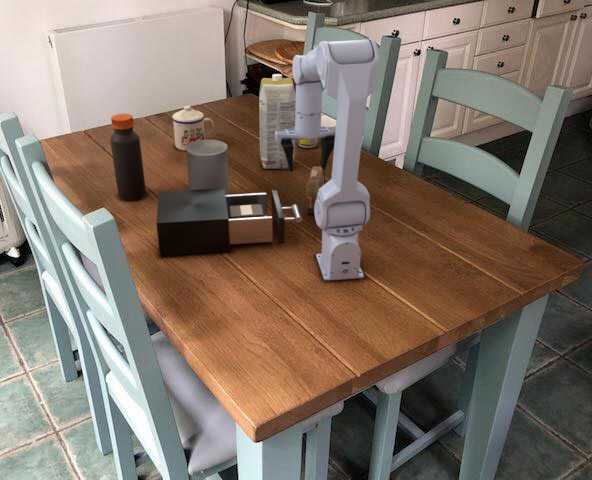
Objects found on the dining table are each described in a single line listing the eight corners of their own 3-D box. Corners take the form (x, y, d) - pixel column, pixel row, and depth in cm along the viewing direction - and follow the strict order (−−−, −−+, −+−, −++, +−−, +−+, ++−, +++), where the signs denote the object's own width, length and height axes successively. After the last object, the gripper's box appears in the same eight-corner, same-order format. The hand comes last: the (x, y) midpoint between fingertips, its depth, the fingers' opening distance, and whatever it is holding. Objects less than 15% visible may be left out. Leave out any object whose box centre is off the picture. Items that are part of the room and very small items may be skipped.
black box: (226, 219, 146) (224, 187, 141) (230, 252, 133) (228, 218, 129) (162, 223, 144) (158, 191, 140) (160, 257, 132) (156, 223, 128)
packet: (263, 231, 137) (263, 214, 135) (231, 232, 136) (230, 216, 134) (261, 220, 141) (261, 203, 139) (230, 221, 141) (229, 205, 138)
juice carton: (293, 158, 176) (294, 71, 163) (295, 170, 169) (296, 80, 156) (259, 158, 175) (258, 72, 162) (260, 170, 169) (259, 81, 156)
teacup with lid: (181, 153, 178) (177, 113, 172) (170, 143, 185) (166, 104, 179) (220, 146, 183) (218, 107, 177) (208, 136, 190) (206, 98, 184)
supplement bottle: (301, 140, 186) (302, 106, 181) (319, 142, 185) (320, 108, 179) (295, 147, 182) (296, 112, 176) (313, 149, 180) (315, 115, 175)
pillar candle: (184, 195, 156) (179, 138, 148) (220, 187, 160) (217, 131, 152) (198, 212, 149) (194, 152, 141) (236, 203, 153) (234, 144, 144)
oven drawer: (294, 213, 146) (295, 188, 143) (304, 242, 135) (305, 216, 132) (218, 217, 145) (216, 193, 141) (221, 248, 133) (219, 221, 130)
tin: (317, 220, 145) (318, 187, 141) (303, 219, 146) (304, 186, 141) (325, 192, 158) (327, 160, 153) (313, 190, 158) (314, 159, 154)
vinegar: (119, 202, 153) (107, 123, 142) (117, 190, 159) (106, 113, 148) (147, 199, 155) (138, 120, 144) (144, 187, 160) (135, 110, 149)
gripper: (335, 103, 143) (332, 159, 150) (272, 107, 140) (272, 164, 148) (344, 113, 137) (340, 171, 144) (278, 118, 135) (278, 176, 142)
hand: (306, 168), depth 145 cm, fingers open, 7 cm apart
